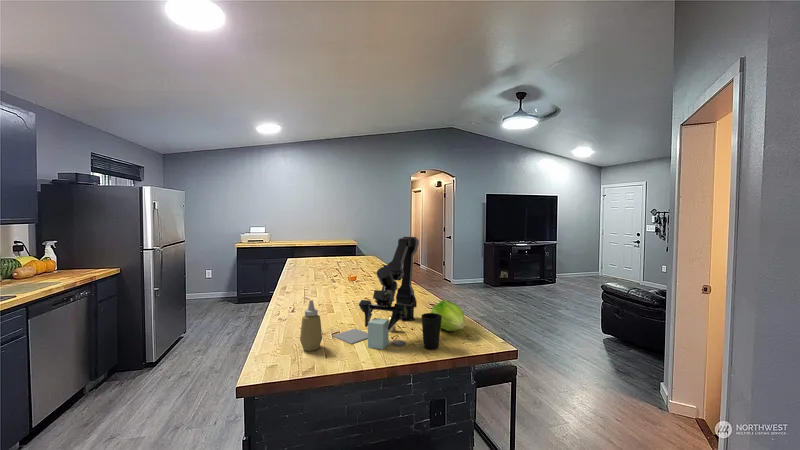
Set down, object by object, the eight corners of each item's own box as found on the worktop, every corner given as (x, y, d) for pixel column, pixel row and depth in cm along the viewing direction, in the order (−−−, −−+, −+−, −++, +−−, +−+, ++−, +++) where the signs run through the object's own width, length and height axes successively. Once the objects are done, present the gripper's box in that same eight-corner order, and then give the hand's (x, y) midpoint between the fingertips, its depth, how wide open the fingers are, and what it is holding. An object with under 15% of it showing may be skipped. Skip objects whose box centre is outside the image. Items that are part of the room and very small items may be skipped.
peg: (393, 329, 150) (394, 315, 150) (397, 331, 147) (397, 317, 147) (386, 330, 149) (386, 316, 148) (389, 332, 146) (389, 318, 145)
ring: (402, 340, 138) (402, 339, 138) (408, 345, 132) (408, 344, 132) (389, 342, 135) (389, 341, 135) (394, 347, 130) (394, 346, 130)
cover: (374, 341, 135) (374, 317, 135) (388, 343, 133) (388, 319, 133) (367, 347, 130) (368, 322, 129) (382, 349, 128) (382, 324, 127)
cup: (443, 344, 133) (443, 314, 133) (438, 352, 126) (439, 320, 125) (423, 342, 135) (424, 312, 135) (418, 349, 128) (419, 317, 128)
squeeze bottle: (310, 354, 123) (310, 304, 122) (295, 349, 127) (295, 301, 126) (326, 347, 129) (327, 299, 129) (311, 342, 134) (311, 296, 133)
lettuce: (444, 341, 136) (445, 311, 136) (426, 325, 156) (427, 299, 155) (476, 338, 140) (476, 309, 140) (454, 323, 160) (455, 297, 159)
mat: (355, 329, 149) (355, 328, 149) (374, 336, 141) (374, 335, 141) (332, 336, 141) (332, 335, 141) (351, 344, 132) (351, 343, 132)
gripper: (361, 279, 137) (347, 314, 127) (405, 283, 131) (395, 320, 121) (369, 294, 145) (357, 329, 135) (411, 299, 139) (402, 335, 129)
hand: (377, 328), depth 130 cm, fingers open, 9 cm apart
